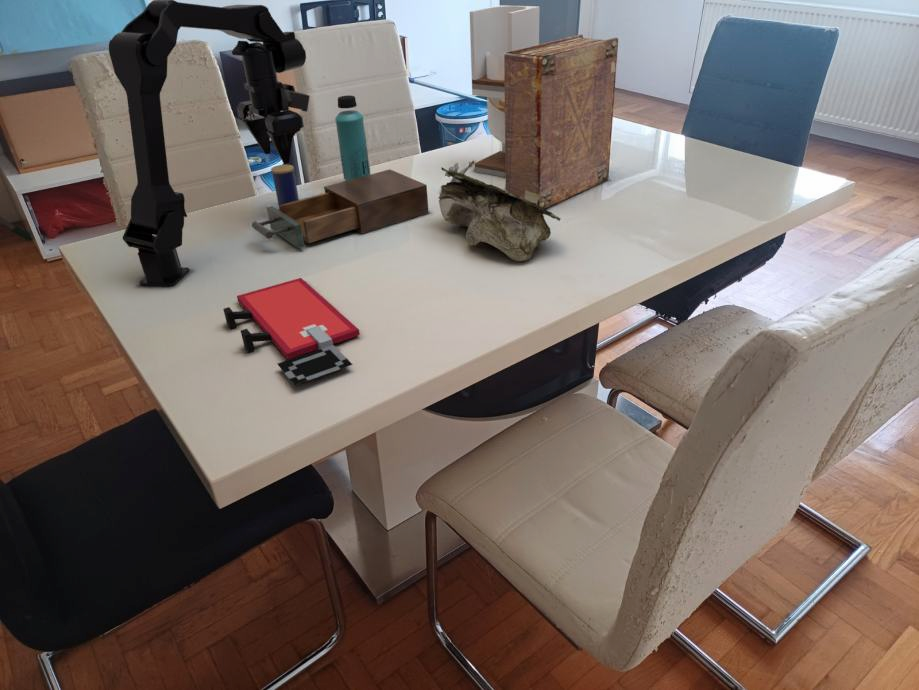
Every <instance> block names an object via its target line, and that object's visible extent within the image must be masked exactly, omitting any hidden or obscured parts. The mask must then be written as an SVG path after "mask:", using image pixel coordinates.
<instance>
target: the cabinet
mask: <svg viewBox="0 0 919 690" xmlns="http://www.w3.org/2000/svg"><path fill="white" fill-rule="evenodd" d="M427 185H428V184H426V183H423V182H421V181H419V180H416V179H414V178H412V177H410V176H406V175H405V174H402V173H400V172H397V171H395V170H393V169H386V170H382V171H379V172H374V173H370V175H367V176H363V177H359V178H355V179H352V180H348V181H345V180H344V181H341V182H337V183H334V184H330V185H329V184H328V185H326V186H323V189H324V193H327V192H330V193H332V194H334V195H336V196H338V197H340V198H342V199H344V200H345V201H347V202H349V203H351V204H353V205H355V206H357V211H358V219H359V226H360V228H357V229H353V230H354V231H355V232H357V233H359V234H360V235H365V234H367V233H370V232H374V231H377V230H380V229H383V228H387V227H389V226H393V225H396V224H399V223H402V222H406V221H408V220H409V221H410V220H412V219H415V218H419V217H422V216H425V215H428V214H429V213H430V212H429V200H428V199H429V198H428V186H427Z"/></svg>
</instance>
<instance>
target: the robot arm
mask: <svg viewBox="0 0 919 690" xmlns="http://www.w3.org/2000/svg"><path fill="white" fill-rule="evenodd" d="M181 28H187V29H199V30H201V29H202V30H212V31H219V32H222V33H224V34H226V35H228V36H232V37H234V38H237V39H242V40H237V44H236V45H235V46H234V48H233V49H232V51H231V55H233V56H237V57H241V58H242V64H243V69H244V75H245V78H246V79H245V80H246V83H243V87H244V90H245V91H248V94H249V99H250V100H245V101H240V102H239V103H238V105H237V107H236V111H237V116H238V118H239V119H241V122H242V123H243V124H244V125H245V127H246V128H247V130H248V132H249V133H250V134H251V135H252V137H253V138H254V139H255V141H256V143H257V144H258V146H259V147H260V148H261V151H262V152H263V153H264V154H265V155H270V154H271V142H272V145H273V146H274V149H275V151H276V152H277V154H278V156H279V158H280V160H281V161H282V163H283V165H288V164H290V161H291V160H290V159H291V153H292V145H293V139H294V136H295V135H296V134H297V133H298V132H300V131H301V130H302V129H303V128H304V127H305V126H304V120H303V116H301V114H300V113H298V112H296V111H293V110H290V109H291V108H292V109H296V110H301V111H302V112H305V113H306V112H308V110H309V102H310V95H309V94H306V93H303V92H299V91H296V90H295V86H294V85H291V84H289V83H283V82H282V81H279V80H278V74H282V73H285V72H288V71H292V70H296V69H300V68H302V67H303V66H304V65H305V63H306V60H307V53H306V49H305V48H304V46H303V44H302V43H301V42H300V40H298V39H297V38H296V34H295V33H296V32H294V31H283V30H282V29H281V27H280V26H279V24H278V23H277V21H276V20H275V19H274V18H273V15H272V14H271V12H270V10H269V8H268V7H267V6H266V5H264V4H232V5H224V6H222V7H221V6H213V5H204V4H195V3H187V2H179V1H176V0H152V1H150V2H149V3H148V4H147V5H146V7H145V8H144V9H143V11H142V12H141V13H139V14H138V15H137V16H136V17H134V18H133V19H132V20H131V21H129V22H128V23H127V24H126V25H125V26H124V28H122V30H121V31H120V32H118V33H116V34H114V35H113V37H112V38H111V39H110V40H109V41H108V54H109V58H110V61H111V64H112V68H113V72H114V74H115V76H116V78H117V79H118V82H119V83H120V85H121V87H122V88H123V90H124V91H125V93H126V98H127V99H126V101H127V107H128V109H127V110H128V117H129V124H130V131H131V138H132V148H133V155H134V163H135V171H136V180H137V184H136V186H135V189H134V191H133V194H132V196H131V199H130V219H129V220H128V224H127V225H126V228H125V231H124V233H123V234H122V240H123V241H124V243H125V244H126V246H127V247H128V248H134V249H137V250H138V251H137V256H138V259H139V262H140V266H141V268H142V272H143V274H144V277H143V278H142V279H141V280H140V281H139V282H138V283H139V286H152V287H153V286H154V287H157V286H158V287H173V286H175V285H176V284H177V283H178V282H180V280H181V279H182V278H183V277H184V276H186V275H187V274H188V273H189V272H190V267H187V266H186V267H184V266H183V267H182V264H181V260H180V258H179V253H178V251H177V248H179V247H182V246H183V229H184V227H185V218H187V217H188V215H187V213H186V208H185V201H186V200H185V195H184V193H183V192H180V191H179V192H178V191H175V190H174V188H173V187H172V185H171V183H170V178H169V177H170V176H169V169H168V159H167V158H168V157H167V150H166V149H167V148H166V139H165V130H164V121H163V120H164V119H163V113H162V112H163V111H162V104H161V103H162V102H161V92H162V90H163V87H164V84H165V83H166V80H167V78H168V62H169V61H168V60H169V59H168V58H169V56H170V55H171V53H172V52H173V50H174V49H175V47H176V45H177V40H178V34H179V30H180V29H181ZM249 42H250V43H249Z"/></svg>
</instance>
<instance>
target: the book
mask: <svg viewBox="0 0 919 690" xmlns="http://www.w3.org/2000/svg"><path fill="white" fill-rule="evenodd" d="M618 49H619V38H618V37H612V38H608V39H607V38H606V39H601V38H600V39H597V38H586V37H584V35H583V34H577V35H572V36H569V37H564V38H561V39H557V40H552V41H549V42H545V43H539V45H536V46H532V47H527V48H523V49H519V50H515V51H511V52H507V53H505V54H504V80H505V174H506V177H505V191H507V192H509V193H511V194H513V195H516V196H520V197H523V198H524V199H526V200H528V201H530V202H532V203H536V204H537V205H539V206H541V207H542V208H544V209H546V210H547V209H549V208H551V207H553V206H555V205H558V204H560V203H562V202H564V201H567V200H569V199H571V198H573V197H575V196H577V195H579V194H582V193H583V192H586V191H588V190H590V189H592V188H595V187H597V186H598V185H601V184H603V183H605V182H607V181H609V176H610V165H611V163H610V162H611V161H610V160H611V148H612V147H611V146H612V135H613V119H614V105H615V90H616V78H617V77H616V76H617V63H618Z"/></svg>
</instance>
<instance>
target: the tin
mask: <svg viewBox="0 0 919 690" xmlns="http://www.w3.org/2000/svg"><path fill="white" fill-rule="evenodd" d="M270 172H271V173H272V179H273V183H274V189H275V194H276V201H277V204H278V205H277V206H279V205H282V204H286V203H290V202H293V201H297V200H300V197H299V193H298V192H299V191H298V188H297V187H298V186H297V180H296V175H295V167H294V165H292V164H279V165H275V166H272V167H271V168H270Z"/></svg>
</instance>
